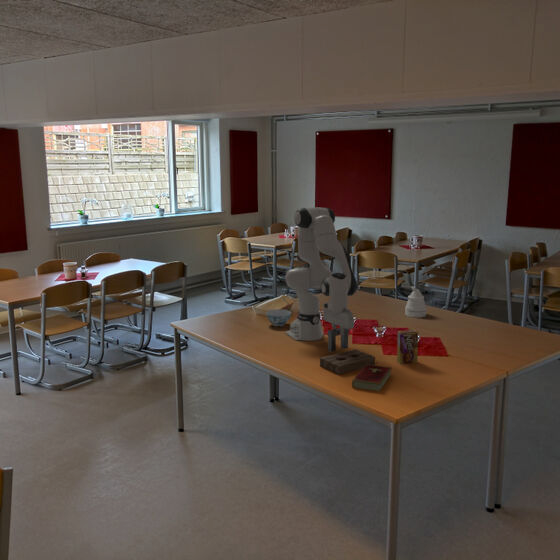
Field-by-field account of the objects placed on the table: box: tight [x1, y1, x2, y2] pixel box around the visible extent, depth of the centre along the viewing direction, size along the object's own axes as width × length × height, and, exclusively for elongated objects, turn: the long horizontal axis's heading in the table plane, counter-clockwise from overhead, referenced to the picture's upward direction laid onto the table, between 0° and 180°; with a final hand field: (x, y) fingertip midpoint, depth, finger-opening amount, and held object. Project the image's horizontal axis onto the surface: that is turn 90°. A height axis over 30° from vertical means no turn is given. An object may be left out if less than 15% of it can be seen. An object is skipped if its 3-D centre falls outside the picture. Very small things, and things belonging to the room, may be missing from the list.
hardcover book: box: [351, 364, 392, 392], centre depth 244 cm, size 12×21×4 cm, turn 156°
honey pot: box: [404, 286, 427, 318], centre depth 352 cm, size 13×13×18 cm
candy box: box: [396, 329, 419, 365], centre depth 266 cm, size 9×4×15 cm, turn 96°
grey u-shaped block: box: [327, 327, 350, 353], centre depth 278 cm, size 3×11×10 cm, turn 123°
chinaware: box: [265, 309, 292, 327], centre depth 334 cm, size 15×15×8 cm
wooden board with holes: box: [319, 348, 376, 375], centre depth 264 cm, size 14×22×4 cm, turn 123°
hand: (338, 333), depth 277 cm, fingers closed on grey u-shaped block, 3 cm apart
